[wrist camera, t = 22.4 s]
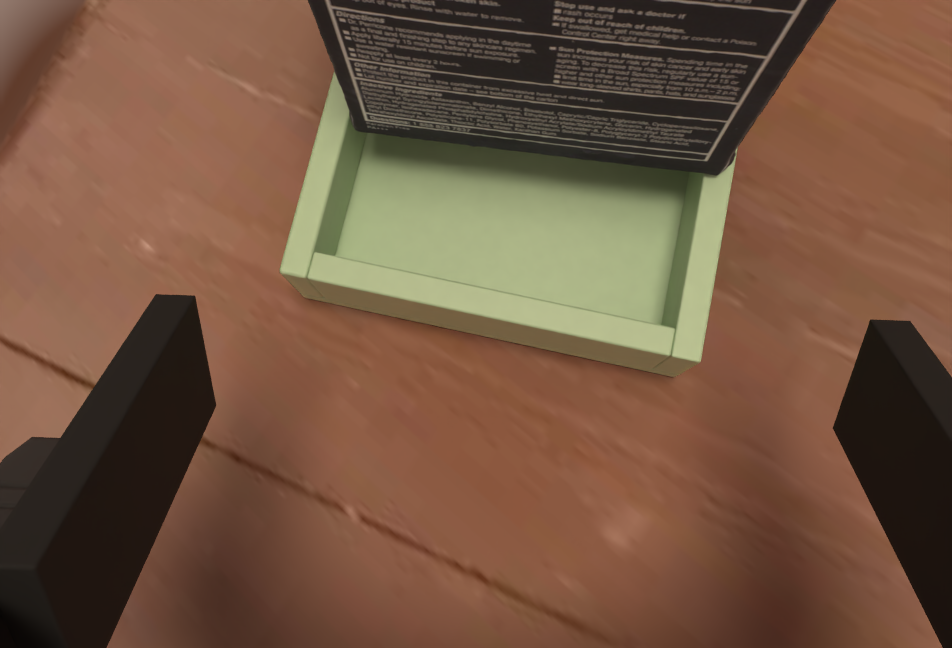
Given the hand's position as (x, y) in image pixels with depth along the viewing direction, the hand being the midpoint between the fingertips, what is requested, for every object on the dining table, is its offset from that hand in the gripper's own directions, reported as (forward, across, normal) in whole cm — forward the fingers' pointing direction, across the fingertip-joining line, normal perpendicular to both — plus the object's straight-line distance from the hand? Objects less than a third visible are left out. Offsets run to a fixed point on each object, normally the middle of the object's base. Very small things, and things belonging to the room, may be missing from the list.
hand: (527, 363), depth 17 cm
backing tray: (+13, +1, +1) cm, 13 cm away
